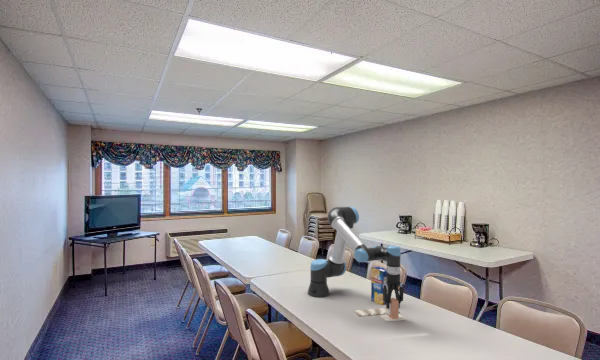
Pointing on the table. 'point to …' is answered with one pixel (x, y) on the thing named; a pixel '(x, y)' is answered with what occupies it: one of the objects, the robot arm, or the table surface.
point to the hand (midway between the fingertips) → (392, 313)
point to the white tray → (371, 312)
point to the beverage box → (378, 284)
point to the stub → (393, 312)
